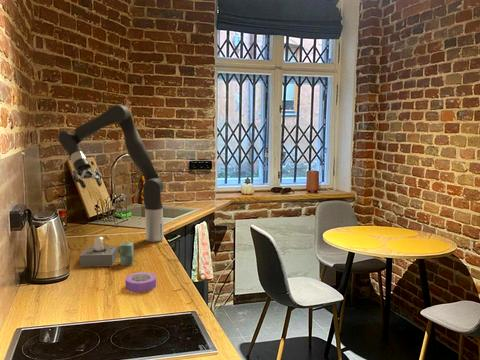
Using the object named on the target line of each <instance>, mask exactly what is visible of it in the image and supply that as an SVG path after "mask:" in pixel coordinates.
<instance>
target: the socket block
mask: <svg viewBox="0 0 480 360" xmlns="http://www.w3.org/2000/svg"><path fill="white" fill-rule="evenodd" d="M118 258H119V245H104V252H95V246H94V245H87V246H86V248H85V249H83V251H82V252H81V253H80V254H79V267H107V266H108V267H113V266H114V265H115V262H116V261H117V259H118Z"/></svg>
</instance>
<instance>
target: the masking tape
mask: <svg viewBox="0 0 480 360" xmlns="http://www.w3.org/2000/svg"><path fill="white" fill-rule="evenodd" d="M124 283H125V290H126V289H127V290H126V291H128V290H129V291H128V292H131V291H132V293H144V292H145V291H146V292H149V290H150V291H151V290H153V289H155V288H156V287H157V276H156V275H155V273H154V274H153V273H151V272H145V271H144V272H135V273H131V274H129V275H127V276H126V277H125V282H124Z"/></svg>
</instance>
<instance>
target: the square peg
mask: <svg viewBox="0 0 480 360" xmlns="http://www.w3.org/2000/svg"><path fill="white" fill-rule="evenodd" d="M119 251H120V252H119V253H120V256H119V257H120V266H132V265H133V264H134V262H135V261H134V260H135V259H134V258H135V257H134V256H135V255H134V242H133V241H131V242H130V241H129V242H126V241H125V242H121V244H120V245H119Z"/></svg>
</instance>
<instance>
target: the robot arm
mask: <svg viewBox="0 0 480 360" xmlns="http://www.w3.org/2000/svg"><path fill="white" fill-rule="evenodd" d="M116 123H117V124H118V125H119V126H120V129H121V130H122V133H123V137H124V144H125V148H126V151H127V153H128V155H129V157H130V159H131V161H132V162H133V164H134V165H135V167H137V168H138V170H139V171H140V172H141V174H142V176H143V179H144V181H145V182H144V184H143V187H142V195H143V197H142V199H143V204H144V219H145V220H144V223H145V229H144V230H145V241H146V242H150V243H151V242H153V243H155V242H162V241H164V233H165V232H164V218H163V217H164V216H163V215H164V214H163V211H164V210H163V202H162V198H161V195H162V194H161V193H162V192H163V190H164V183H163V181H162V179H161V177H160V176H159V174H158V172H157V170H156V169H155V167H154V165H153V164H154V163H153V161H152V159H151V157H150V155H149V153H148V150H147V148H146V145H145V144H144V142H143V140H142V137H141V135H140V133H139V132H138V130H137V127H136V125H135V122H134V119H133V116H132V113H131V111H130V109H129V108H128V106H126V105H124V104H115V105H113V106H111V107H110V108H108V109H107V110H105V111H104V112H103V113H102V114H100V115H98V116H96V117H95V118H93V119H90V120H88V121H86V122H84V123H83V124H80V125H78V126H77V127H75V129H74V133H72V132H70V131H69V130H62V131H60V132H59V133H58V135H57V136H58V137H57V138H58V142H59V144H60V145H61V146H62V148H63V149H64V150H65V152H67V154H68V157H69V159H70V162H71V163H72V166H73V167H74V169H75V170H74V169H73V171H72V172H71V177H72V179H73V180H74V183H78V184H79V185H80V187H81V188H82V189H86V187H87V185H86V183H85V181H84V179H91V180H93V181H95V182H96V184H97V186H98V187H101V186H102V185H103V182H102V180H101V179H102V178H103V175H102V173H101V172H100V170H99V169H98V168H95V169H93V168H92V166H91V164H90V162H89V160H88V158H87V157H86V155H85V154H84V152H83V150H82V148H81V146H80V145H79V144H80V143H81V142H82V141H83V140H84V139H86V138H89V137H91V136H93V135H94V134H96V133H98V132H99V131H100V130H102V129H103V128H105V127H107V126H111V125H113V124H116Z"/></svg>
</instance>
